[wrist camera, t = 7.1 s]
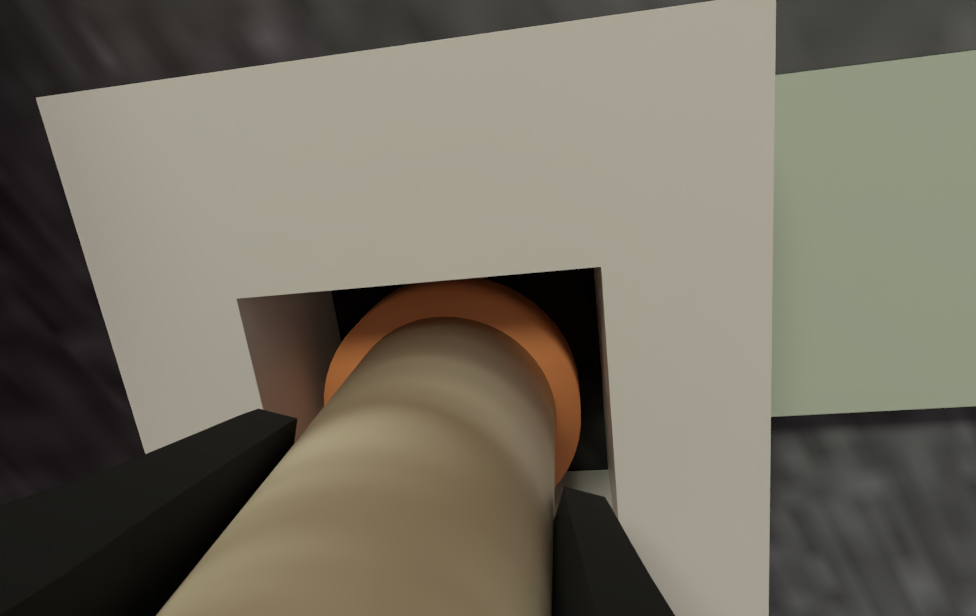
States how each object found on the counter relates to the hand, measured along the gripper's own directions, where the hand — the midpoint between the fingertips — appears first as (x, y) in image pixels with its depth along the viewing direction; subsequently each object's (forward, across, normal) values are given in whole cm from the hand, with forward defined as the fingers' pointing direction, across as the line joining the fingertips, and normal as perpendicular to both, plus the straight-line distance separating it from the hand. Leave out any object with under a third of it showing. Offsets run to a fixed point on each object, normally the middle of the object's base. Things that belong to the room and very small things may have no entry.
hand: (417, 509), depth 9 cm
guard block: (+6, 0, 0) cm, 6 cm away
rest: (+6, -8, -5) cm, 11 cm away
